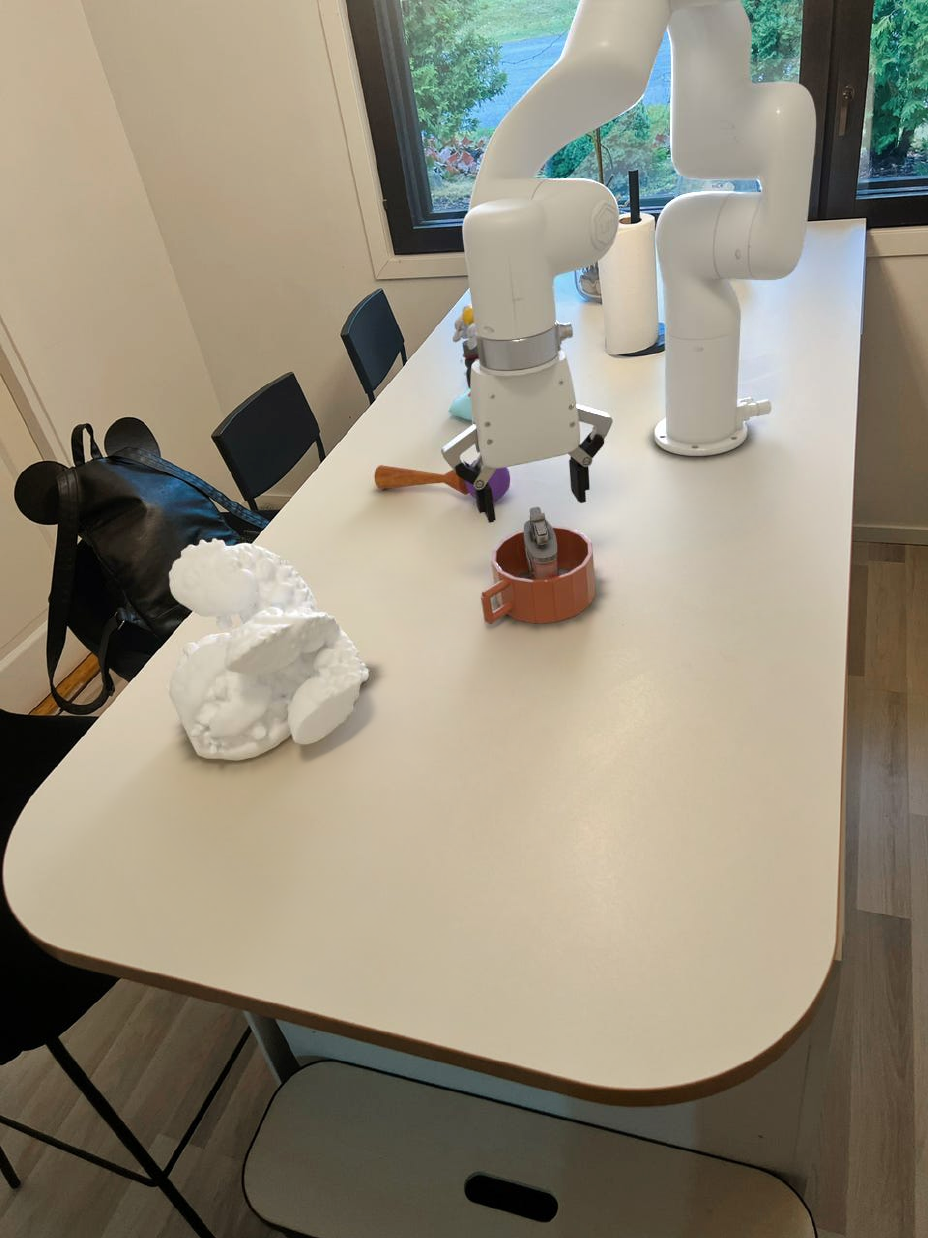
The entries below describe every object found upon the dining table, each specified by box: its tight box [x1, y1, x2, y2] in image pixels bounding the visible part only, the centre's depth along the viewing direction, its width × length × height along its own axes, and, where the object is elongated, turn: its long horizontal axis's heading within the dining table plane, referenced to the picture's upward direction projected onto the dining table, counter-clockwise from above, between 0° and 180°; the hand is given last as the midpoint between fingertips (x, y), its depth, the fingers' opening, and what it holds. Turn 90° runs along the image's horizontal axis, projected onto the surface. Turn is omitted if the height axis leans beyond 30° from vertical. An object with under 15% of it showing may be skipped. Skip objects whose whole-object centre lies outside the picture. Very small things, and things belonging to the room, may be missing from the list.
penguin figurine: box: [448, 302, 479, 421], centre depth 139 cm, size 20×11×15 cm, turn 157°
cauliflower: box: [164, 537, 370, 762], centre depth 85 cm, size 19×20×20 cm
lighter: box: [523, 506, 559, 580], centre depth 95 cm, size 8×3×10 cm, turn 5°
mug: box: [480, 525, 597, 625], centre depth 96 cm, size 14×11×6 cm
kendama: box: [373, 459, 511, 502], centre depth 119 cm, size 6×6×20 cm
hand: (534, 506), depth 91 cm, fingers open, 9 cm apart
